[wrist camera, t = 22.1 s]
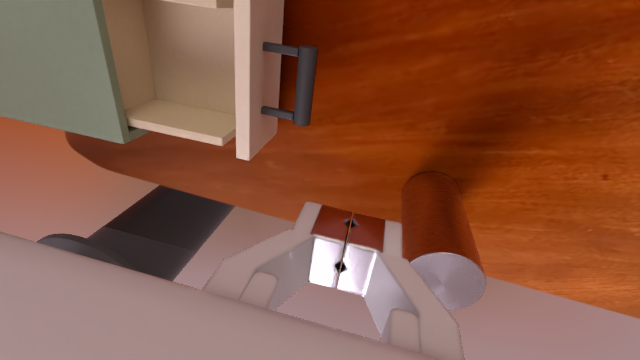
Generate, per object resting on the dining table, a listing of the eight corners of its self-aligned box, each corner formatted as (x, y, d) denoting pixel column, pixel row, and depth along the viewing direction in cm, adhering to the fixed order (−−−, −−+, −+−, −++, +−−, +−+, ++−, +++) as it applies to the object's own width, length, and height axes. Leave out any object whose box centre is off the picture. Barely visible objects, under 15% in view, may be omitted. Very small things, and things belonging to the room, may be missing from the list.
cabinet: (167, -33, 27) (82, -47, 20) (183, 115, 34) (124, 144, 27) (28, -52, 29) (-96, -72, 22) (70, 91, 36) (-14, 112, 29)
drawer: (335, -1, 25) (314, -4, 19) (317, 141, 31) (297, 172, 25) (138, -29, 27) (67, -39, 21) (158, 108, 34) (107, 129, 28)
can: (448, 223, 33) (469, 319, 23) (396, 210, 34) (393, 298, 24) (467, 178, 30) (500, 265, 20) (409, 166, 31) (413, 243, 21)
